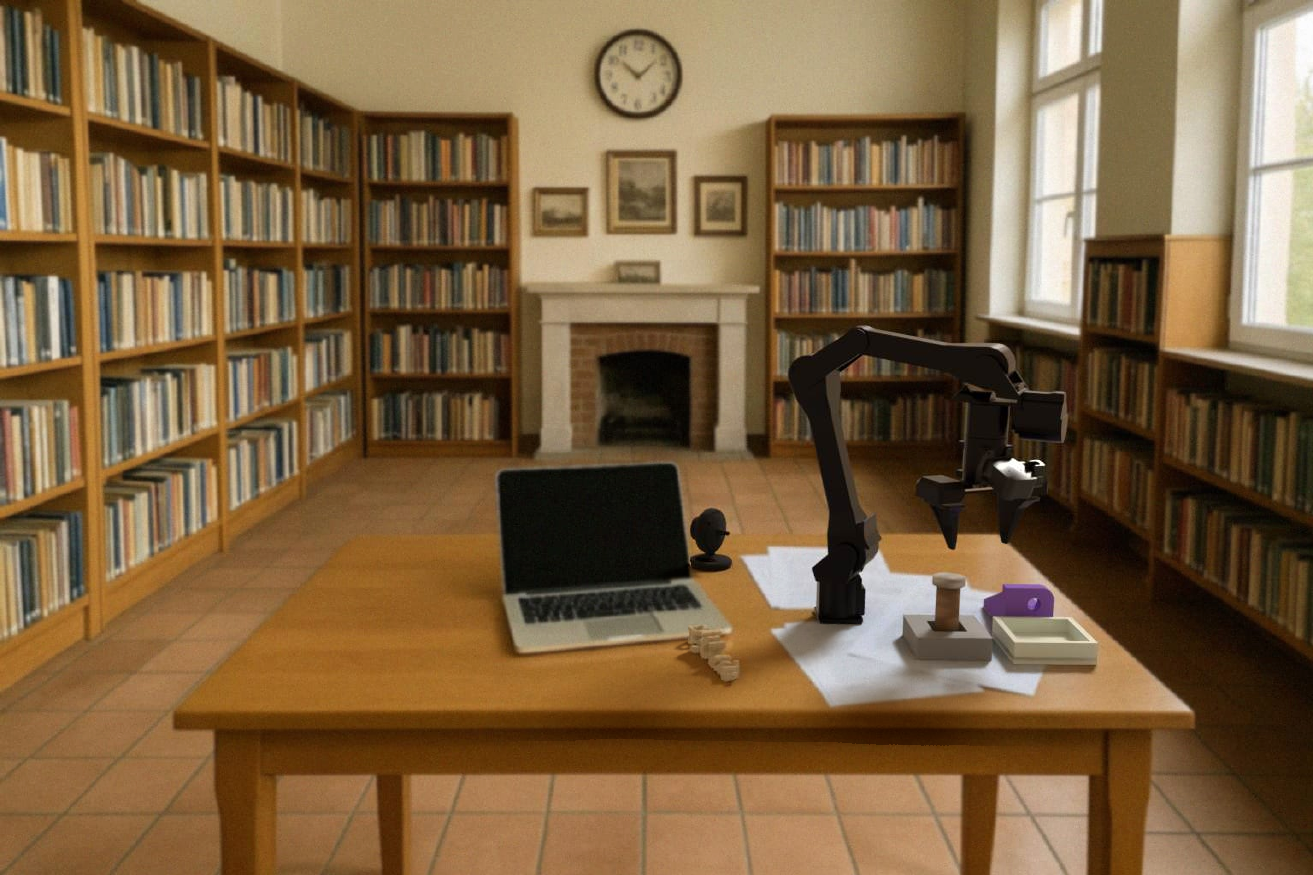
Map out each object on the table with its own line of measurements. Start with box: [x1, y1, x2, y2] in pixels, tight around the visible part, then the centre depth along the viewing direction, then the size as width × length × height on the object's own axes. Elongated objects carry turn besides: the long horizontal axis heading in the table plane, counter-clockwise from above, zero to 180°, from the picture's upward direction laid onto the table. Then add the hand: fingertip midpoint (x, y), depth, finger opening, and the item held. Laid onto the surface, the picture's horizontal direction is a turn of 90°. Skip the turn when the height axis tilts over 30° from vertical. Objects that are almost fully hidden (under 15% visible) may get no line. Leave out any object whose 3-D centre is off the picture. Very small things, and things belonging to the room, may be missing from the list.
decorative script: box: [687, 624, 740, 682], centre depth 163 cm, size 17×4×3 cm, turn 19°
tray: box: [991, 616, 1099, 666], centre depth 167 cm, size 11×11×3 cm
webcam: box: [689, 507, 733, 572], centre depth 209 cm, size 8×8×10 cm
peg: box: [931, 572, 967, 632], centre depth 168 cm, size 4×4×10 cm
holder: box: [902, 614, 994, 661], centre depth 169 cm, size 10×10×3 cm
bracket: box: [983, 583, 1055, 619], centre depth 181 cm, size 12×7×7 cm, turn 179°
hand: (978, 546), depth 171 cm, fingers open, 9 cm apart
